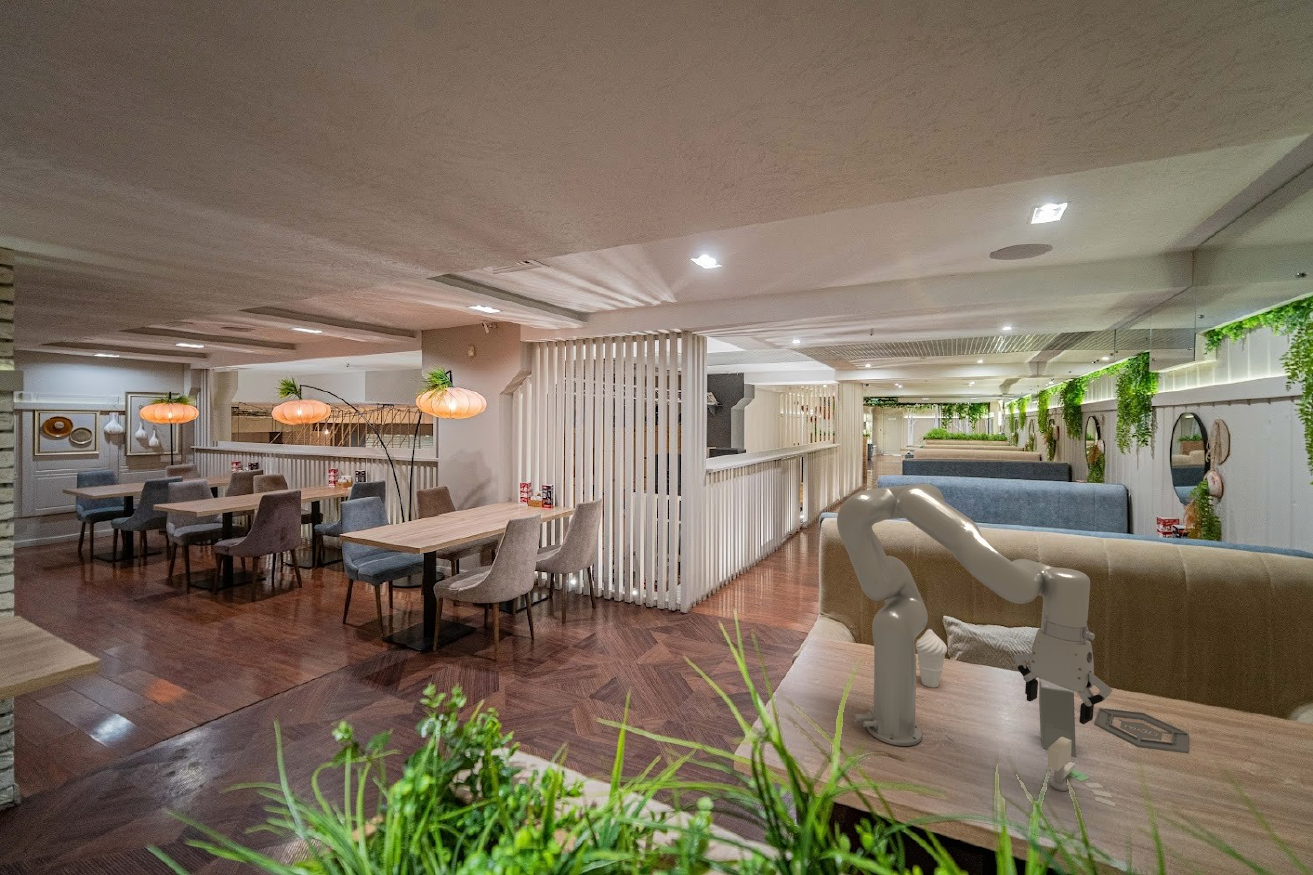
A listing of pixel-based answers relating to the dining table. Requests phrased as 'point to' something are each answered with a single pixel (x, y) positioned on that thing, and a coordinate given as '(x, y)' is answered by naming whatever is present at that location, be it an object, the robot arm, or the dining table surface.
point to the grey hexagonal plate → (1178, 736)
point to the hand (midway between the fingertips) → (1057, 710)
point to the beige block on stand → (1060, 762)
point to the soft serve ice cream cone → (930, 658)
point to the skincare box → (1056, 714)
